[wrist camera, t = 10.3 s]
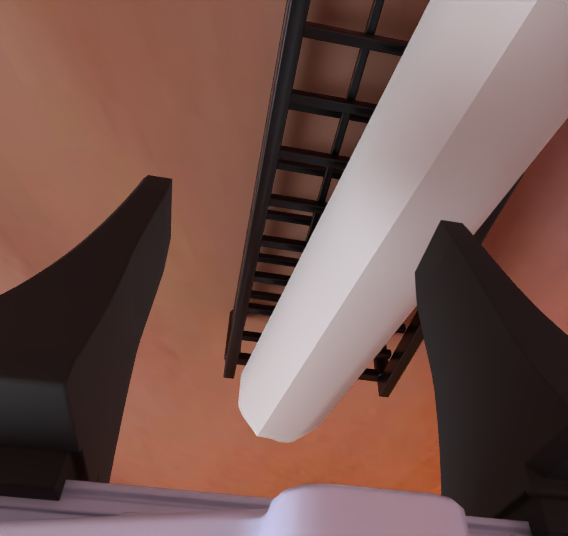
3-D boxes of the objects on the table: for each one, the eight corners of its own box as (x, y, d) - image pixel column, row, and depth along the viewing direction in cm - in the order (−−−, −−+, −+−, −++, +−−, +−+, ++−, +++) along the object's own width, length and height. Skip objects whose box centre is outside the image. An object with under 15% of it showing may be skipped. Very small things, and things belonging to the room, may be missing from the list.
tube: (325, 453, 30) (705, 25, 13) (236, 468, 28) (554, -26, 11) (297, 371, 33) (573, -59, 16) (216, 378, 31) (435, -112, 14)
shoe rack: (570, -31, 19) (623, 16, 16) (381, 337, 34) (390, 398, 31) (296, -91, 18) (296, -54, 15) (229, 316, 33) (221, 377, 30)
